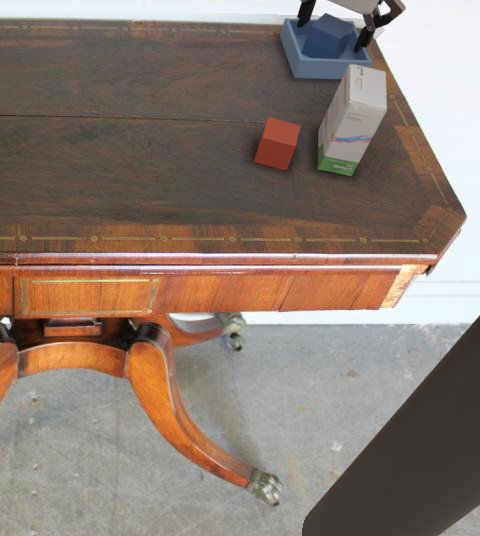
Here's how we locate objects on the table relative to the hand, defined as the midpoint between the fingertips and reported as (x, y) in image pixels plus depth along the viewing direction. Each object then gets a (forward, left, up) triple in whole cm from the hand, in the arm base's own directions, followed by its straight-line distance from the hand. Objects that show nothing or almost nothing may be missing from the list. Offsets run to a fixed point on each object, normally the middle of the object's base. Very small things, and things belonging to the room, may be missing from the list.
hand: (330, 36), depth 111 cm
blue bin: (0, 0, -4) cm, 4 cm away
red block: (-6, +26, -4) cm, 27 cm away
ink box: (-12, +19, -4) cm, 23 cm away
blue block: (0, 0, -3) cm, 3 cm away
